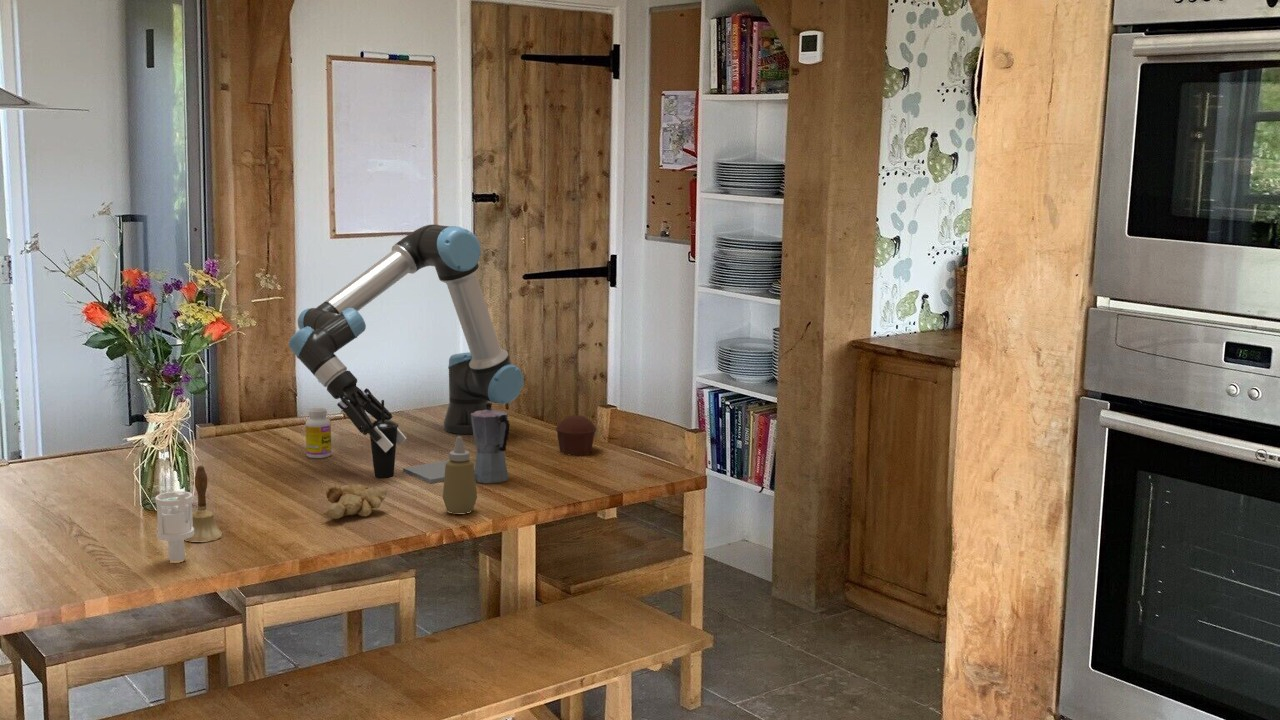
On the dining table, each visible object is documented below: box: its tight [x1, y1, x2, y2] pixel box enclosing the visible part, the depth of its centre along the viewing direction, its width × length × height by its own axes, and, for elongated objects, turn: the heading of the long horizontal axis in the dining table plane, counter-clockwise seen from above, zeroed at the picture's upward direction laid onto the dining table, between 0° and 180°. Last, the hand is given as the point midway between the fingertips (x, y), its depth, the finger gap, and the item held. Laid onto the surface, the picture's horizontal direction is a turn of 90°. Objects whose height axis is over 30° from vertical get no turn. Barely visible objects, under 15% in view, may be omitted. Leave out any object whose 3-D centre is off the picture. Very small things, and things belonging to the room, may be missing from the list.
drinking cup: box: [369, 399, 399, 480], centre depth 321 cm, size 8×8×20 cm
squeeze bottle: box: [442, 436, 478, 513], centre depth 292 cm, size 8×8×18 cm
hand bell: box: [186, 465, 223, 541], centre depth 271 cm, size 8×8×16 cm
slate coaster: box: [402, 459, 475, 484], centre depth 326 cm, size 14×14×1 cm
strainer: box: [154, 490, 194, 561], centre depth 256 cm, size 7×7×15 cm
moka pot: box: [471, 402, 510, 484], centre depth 318 cm, size 10×15×20 cm, turn 45°
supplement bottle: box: [305, 407, 332, 459], centre depth 340 cm, size 7×7×13 cm
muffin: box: [555, 414, 597, 456], centre depth 350 cm, size 12×11×10 cm
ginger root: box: [323, 483, 388, 520], centre depth 291 cm, size 16×16×8 cm
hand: (396, 445), depth 320 cm, fingers closed on drinking cup, 7 cm apart
